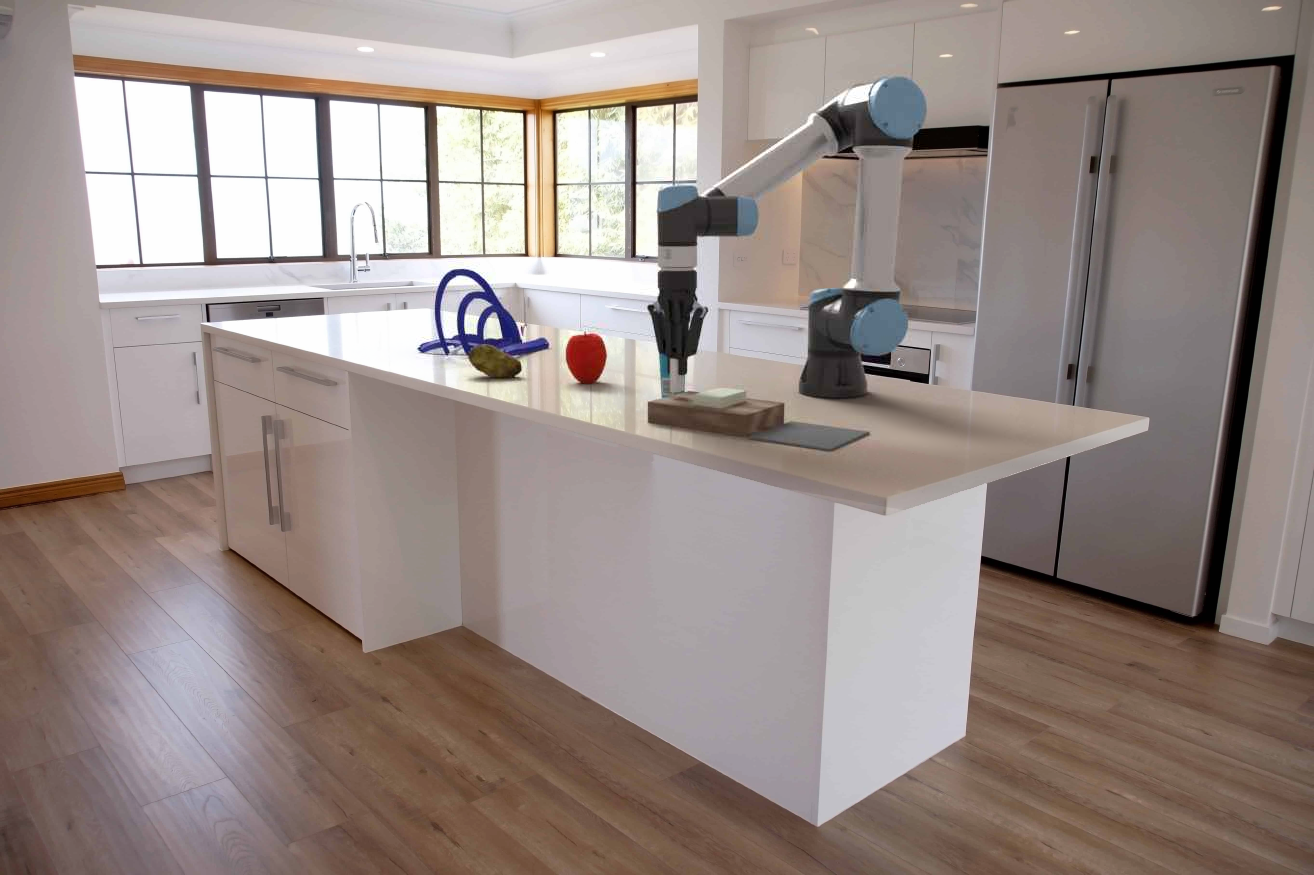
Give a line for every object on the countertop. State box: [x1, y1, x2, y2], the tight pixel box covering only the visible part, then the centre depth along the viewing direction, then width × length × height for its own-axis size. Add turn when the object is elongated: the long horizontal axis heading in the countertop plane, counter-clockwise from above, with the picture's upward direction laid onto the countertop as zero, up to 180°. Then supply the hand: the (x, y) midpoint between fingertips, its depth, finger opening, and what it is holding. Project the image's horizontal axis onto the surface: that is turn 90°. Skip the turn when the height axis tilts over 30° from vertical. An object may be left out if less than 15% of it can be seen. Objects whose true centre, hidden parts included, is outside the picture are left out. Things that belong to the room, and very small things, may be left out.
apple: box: [565, 331, 608, 384], centre depth 228 cm, size 10×10×12 cm
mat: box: [747, 420, 871, 452], centre depth 173 cm, size 16×16×1 cm
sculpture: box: [416, 268, 550, 357], centre depth 282 cm, size 35×34×26 cm
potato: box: [467, 344, 523, 379], centre depth 237 cm, size 8×13×8 cm, turn 58°
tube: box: [658, 310, 686, 398], centre depth 204 cm, size 7×5×19 cm, turn 90°
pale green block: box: [694, 387, 747, 408], centre depth 182 cm, size 9×6×2 cm, turn 144°
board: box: [647, 390, 786, 438], centre depth 184 cm, size 14×22×4 cm, turn 54°
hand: (677, 391), depth 188 cm, fingers closed
